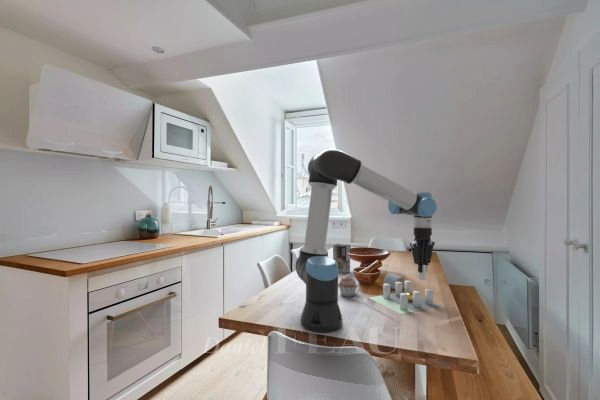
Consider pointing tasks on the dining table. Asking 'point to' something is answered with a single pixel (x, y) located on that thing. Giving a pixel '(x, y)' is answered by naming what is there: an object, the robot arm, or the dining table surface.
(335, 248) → the coffee box
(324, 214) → the robot arm
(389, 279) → the ceramic mug
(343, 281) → the cupcake
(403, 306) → the tray
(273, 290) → the dining table surface
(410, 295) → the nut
